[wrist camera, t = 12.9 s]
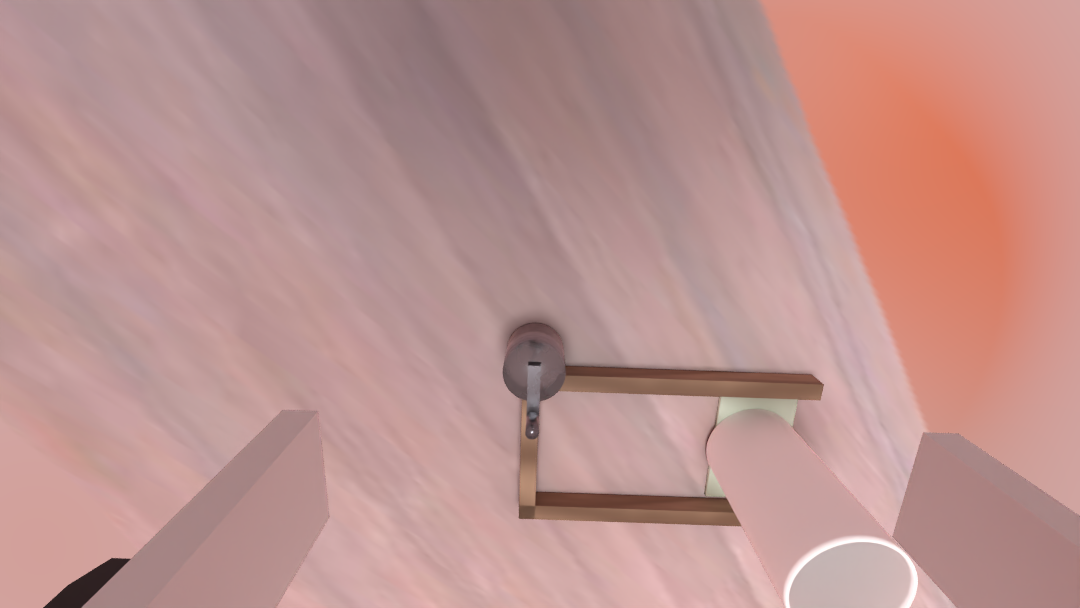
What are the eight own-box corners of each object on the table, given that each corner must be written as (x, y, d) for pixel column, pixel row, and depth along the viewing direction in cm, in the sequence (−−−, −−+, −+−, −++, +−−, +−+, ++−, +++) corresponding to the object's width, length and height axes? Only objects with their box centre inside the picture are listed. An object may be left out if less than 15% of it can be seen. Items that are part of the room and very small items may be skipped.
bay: (523, 364, 45) (522, 373, 43) (811, 374, 45) (823, 384, 43) (519, 504, 49) (518, 518, 47) (782, 513, 49) (792, 527, 47)
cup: (812, 445, 46) (945, 588, 31) (746, 499, 48) (840, 661, 33) (754, 391, 45) (863, 515, 29) (687, 450, 47) (758, 595, 31)
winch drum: (507, 321, 43) (499, 358, 36) (564, 323, 43) (569, 361, 36) (506, 389, 45) (498, 438, 38) (561, 391, 45) (564, 440, 38)
